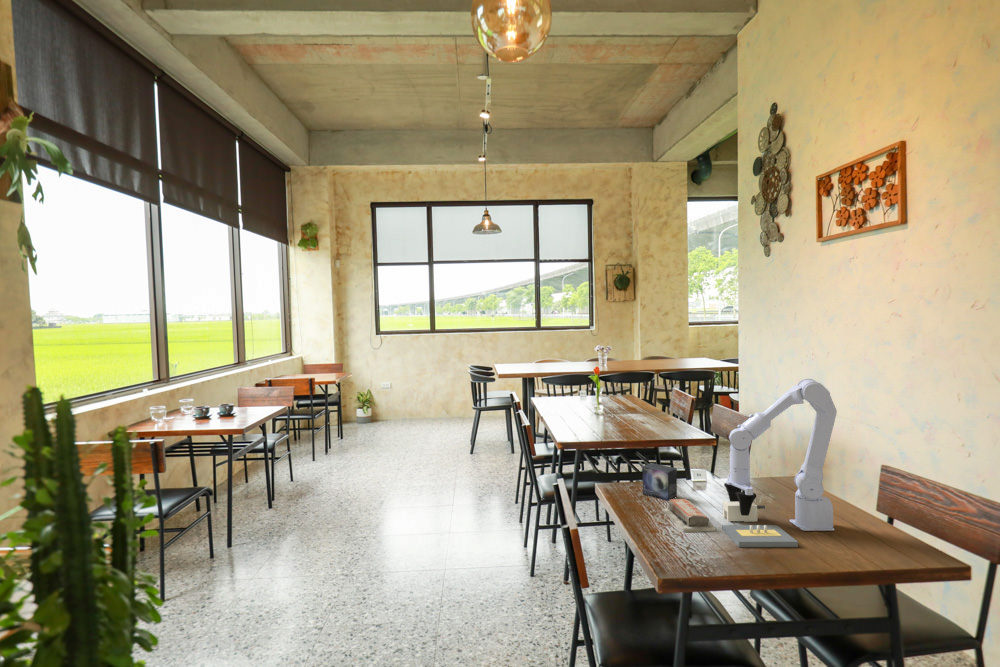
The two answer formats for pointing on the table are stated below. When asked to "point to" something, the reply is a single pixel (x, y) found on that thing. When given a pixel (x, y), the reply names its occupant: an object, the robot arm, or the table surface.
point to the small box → (660, 481)
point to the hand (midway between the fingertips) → (739, 510)
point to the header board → (759, 536)
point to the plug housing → (733, 512)
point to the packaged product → (688, 516)
